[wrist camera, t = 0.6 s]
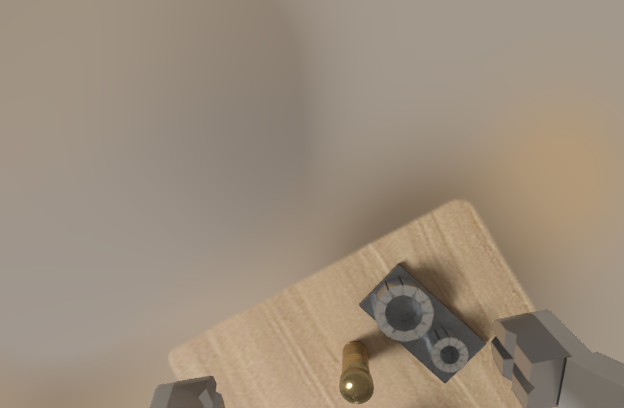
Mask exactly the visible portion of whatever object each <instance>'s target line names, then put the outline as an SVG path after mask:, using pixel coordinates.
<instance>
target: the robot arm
mask: <svg viewBox="0 0 624 408" xmlns="http://www.w3.org/2000/svg"><path fill="white" fill-rule="evenodd" d="M492 331H493V332H494V334H495V335H496V336H495V338H494V339H493V340H492V341H491V352H492V355H493V359H494V362H495V364H496V366H497V368H498V370H499V371H500V373H501V374H502V376H504V377H505V378H507V379H509V380H511V381H512V389H511V390H512V391H513V393H514V394H515V396H516V397H517V399H518V400H519V402H520V403H521V405H522V406H523V408H551V407H558V408H624V364H623V363H621V362H619V361H617V360H614V359H612V358H610V357H608V356H606V355H603V354H601V353H599V352H596V353H592V352H591V351H590V350H589V349H588V348H587V347H586V346H585V345H584V344H583V343H582V342H581V341H580V340H579V339H578V338H577V337H576V336H575V335H574V334H573V333H572V332H571V331H570V330H569V329H568V328H567V327H566V326H565V325H564V324H563V323H562V322H561V321H560V320H559V319H558V318H557V317H556V316H555V315H554V314H553V313H552V312H551V311H549V310H547V309H546V310H541V311H536V312H531V313H525V314H520V315H515V316H511V317H506V318H501V319H496V320H494V321H493V323H492ZM216 385H217V384H216V381H215V379H214V377H213V376H207V377H201V378H195V379H189V380H183V381H177V382H172V383H167V384H161V385H159V386H158V387H157V388H156V390H155V392H154V394H153V397H152V400H151V404H150V406H149V408H225V406H224V401H223V398H222V396H221V394H219V393H218V392H216Z"/></svg>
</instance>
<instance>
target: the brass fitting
mask: <svg viewBox="0 0 624 408" xmlns="http://www.w3.org/2000/svg"><path fill="white" fill-rule="evenodd" d="M373 390H374V386H373V380H372V377H371V375H370V371H369V362H368V353H367V349H366V347H365V346H364V345H363V344H362V343H361V342H358V341H351V342H349V343H347V344H346V345H345V346H344V348H343V360H342V375H341V377H340V392H341V395H342V396H343V398H344V399H345V400H347V401H348V402H350V403H353V404H361V403H364V402H366V401H368V400H369V399H370V398H371V396H372V394H373Z"/></svg>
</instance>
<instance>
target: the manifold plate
mask: <svg viewBox="0 0 624 408" xmlns="http://www.w3.org/2000/svg"><path fill="white" fill-rule="evenodd" d="M359 306H360V307H361V308H362V309H363V310H364V311H365V312H367V313H368V314H369V315H370V316H371V317H372V318H373V319H374V320H375V321H376V322H377V325H378V327H379V329H380V330H381V331H382V332H383V333H384V334H385V335H387V336H388V337H389V338H391V339H394V340H397V341H398V342H400V343H401V344H402V345H403V346H404V347H405V348H406V349H407V350H408V351H409V352H411V353H412V354H413V355H414V356H415V357H416V358H417V359H418V360H419V361H420V362H422V363H423V364H424V365H425V366H426V367H427V368H428V369H429V370H430V371H432V372H433V373H434V374H435V375H436V376H437V377H438V378H439V379H440V380H441V381H443V382H444V383H446V382H447V381H448V380H449V379H450V378H451V377H452V376H453V375H455V374H456V373H457V372H458V371H459V370H461V369H462V368H463V367H464V366H465V365H466V363H467V362H468V361H469V360H470V359H471V358H472V357H473V356H474V355H475V354H476V353H477V352H478V351H479V350H480V349H481V348H483V347H484V346H485V345H486V343H485V342H484V341H483V340H482V339H481V338H480V337H479V336H478V335H477V334H476V333H474V332H473V331H472V330H471V329H470V328H469V327H468V326H467V325H466V324H464V323H463V322H462V321H461V320H460V319H459V318H458V317H457V316H456V315H454V314H453V313H452V312H451V311H450V310H449V309H448V308H447V307H446V306H444V305H443V304H442V303H441V302H440V301H439V300H438V299H437V298H436V297H435V296H433V295H432V294H431V293H430V292H429V291H428V290H427V289H426V288H425V287H423V286H422V285H421V284H420V283H419V282H418V281H417V280H416V279H415V278H413V277H412V276H411V275H410V274H409V273H408V272H407V271H406V270H405V269H404V268H402V267H401V266H400V265H399V264H397V265H396V266H395V267H394V268H393V269H392V270H391V272H390V273H389V274H388V275H387V276H386V277H385V278H384V279H383V280H382V281H381V282H380V283H379V284H378V285H377V286H376V287H375V288H374V289H373V290H372V291H371V292H370V293H369V294H368V295H367V297H366V298H365V299H364V300H363V301H362V302H361V303H360V304H359Z"/></svg>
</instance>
